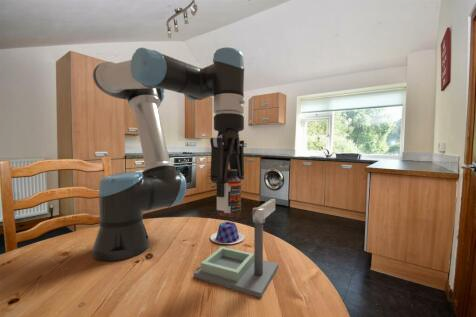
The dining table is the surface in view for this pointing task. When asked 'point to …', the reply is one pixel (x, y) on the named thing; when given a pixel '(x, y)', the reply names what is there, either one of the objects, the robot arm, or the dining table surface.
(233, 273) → the socket base
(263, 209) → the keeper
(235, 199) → the supplement bottle
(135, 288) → the dining table surface
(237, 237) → the pudding
